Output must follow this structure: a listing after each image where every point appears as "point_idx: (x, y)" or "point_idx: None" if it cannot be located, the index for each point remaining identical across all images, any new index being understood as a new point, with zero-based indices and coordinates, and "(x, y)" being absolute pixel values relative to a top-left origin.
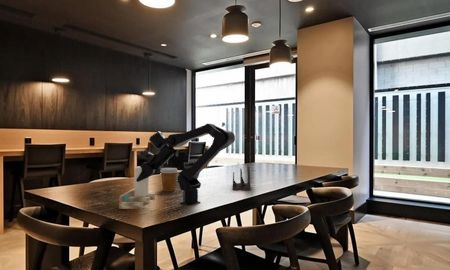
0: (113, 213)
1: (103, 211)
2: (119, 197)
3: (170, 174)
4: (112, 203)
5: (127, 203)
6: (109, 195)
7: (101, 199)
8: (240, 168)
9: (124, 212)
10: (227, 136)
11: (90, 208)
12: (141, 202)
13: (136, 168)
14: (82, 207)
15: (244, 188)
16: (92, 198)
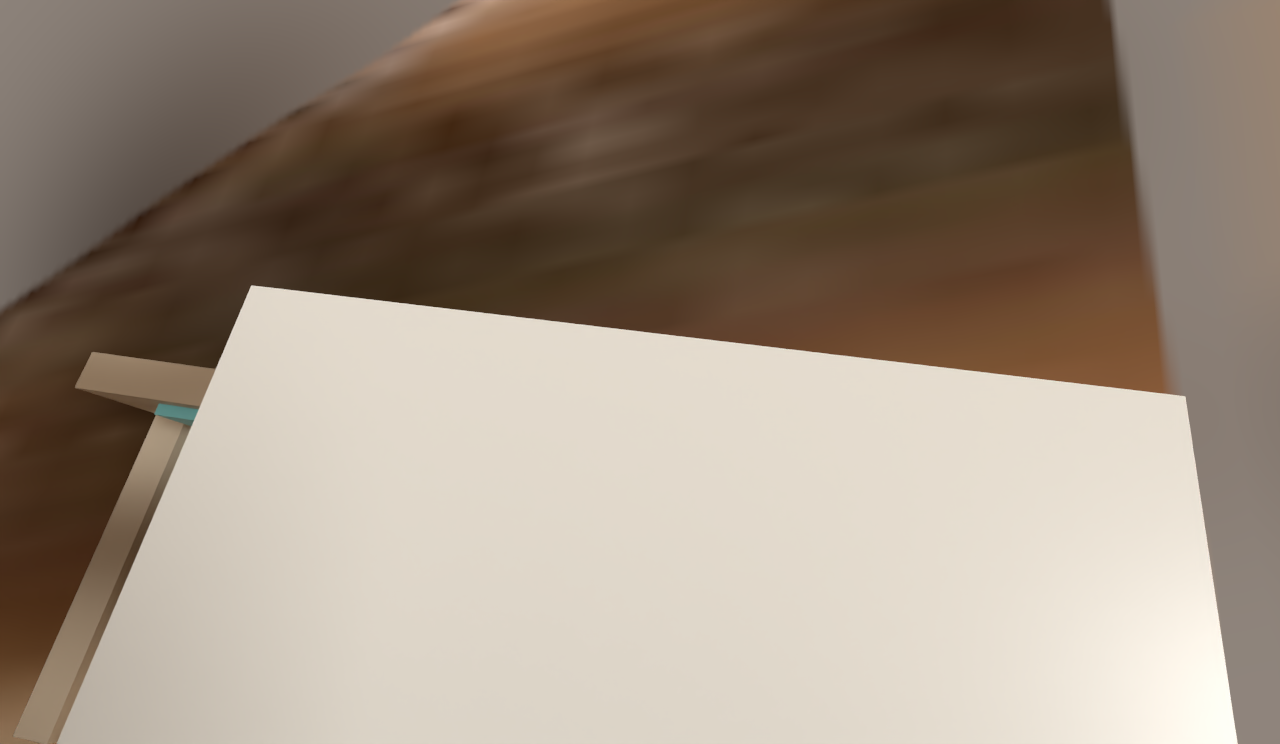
0: (42, 390)
1: (175, 276)
2: (110, 359)
3: None
4: (547, 271)
5: (132, 492)
6: (1073, 122)
7: (802, 105)
8: None
9: (29, 498)
10: None
11: (354, 132)
12: (29, 710)
13: (253, 440)
14: (420, 60)
15: None
16: (866, 10)
